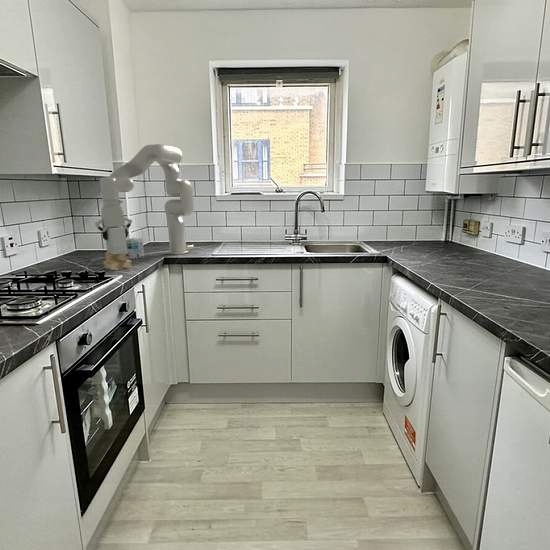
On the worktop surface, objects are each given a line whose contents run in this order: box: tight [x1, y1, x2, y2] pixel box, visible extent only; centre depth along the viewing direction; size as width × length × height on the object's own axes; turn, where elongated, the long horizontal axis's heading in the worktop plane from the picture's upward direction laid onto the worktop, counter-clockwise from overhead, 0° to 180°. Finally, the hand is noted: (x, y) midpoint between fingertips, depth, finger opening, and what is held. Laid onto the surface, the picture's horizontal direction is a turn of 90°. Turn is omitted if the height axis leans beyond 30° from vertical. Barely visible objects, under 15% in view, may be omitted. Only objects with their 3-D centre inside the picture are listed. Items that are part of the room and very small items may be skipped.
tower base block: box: [102, 259, 133, 271], centre depth 194 cm, size 10×10×4 cm
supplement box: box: [105, 226, 127, 255], centre depth 191 cm, size 7×7×13 cm
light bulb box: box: [126, 237, 145, 260], centre depth 220 cm, size 11×7×11 cm, turn 168°
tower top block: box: [104, 252, 127, 264], centre depth 193 cm, size 9×9×4 cm
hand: (116, 238), depth 191 cm, fingers open, 9 cm apart
